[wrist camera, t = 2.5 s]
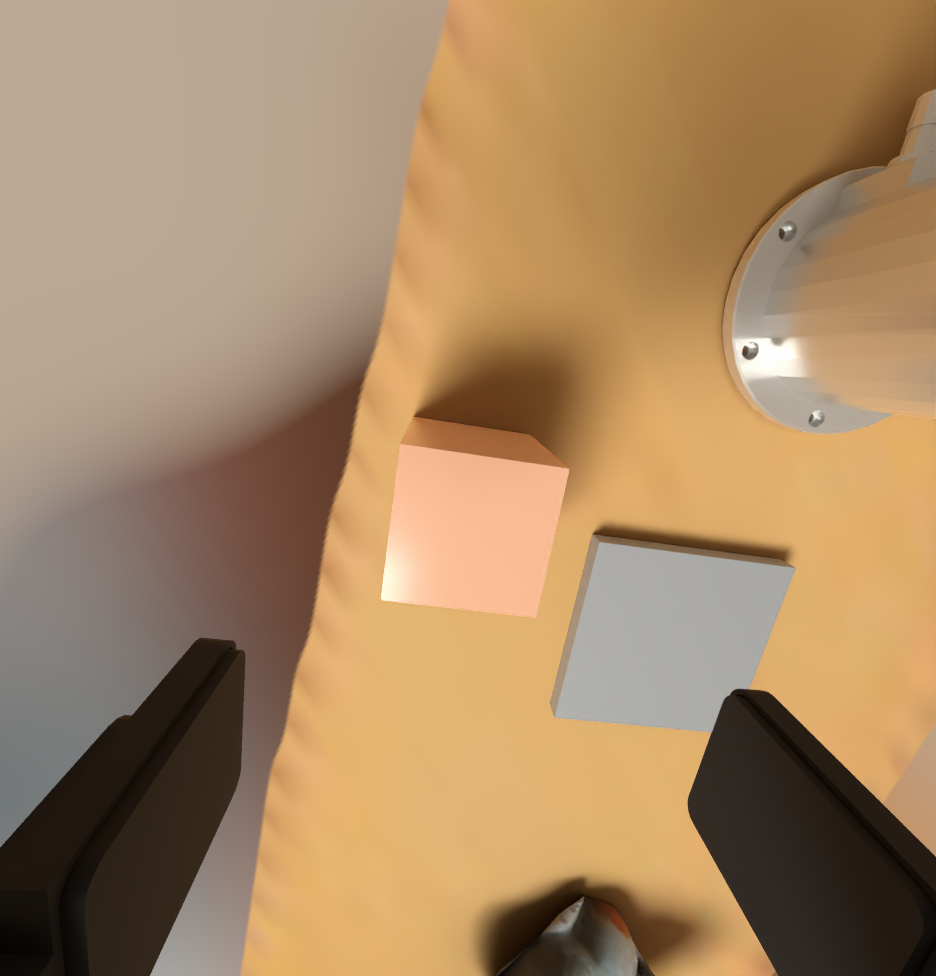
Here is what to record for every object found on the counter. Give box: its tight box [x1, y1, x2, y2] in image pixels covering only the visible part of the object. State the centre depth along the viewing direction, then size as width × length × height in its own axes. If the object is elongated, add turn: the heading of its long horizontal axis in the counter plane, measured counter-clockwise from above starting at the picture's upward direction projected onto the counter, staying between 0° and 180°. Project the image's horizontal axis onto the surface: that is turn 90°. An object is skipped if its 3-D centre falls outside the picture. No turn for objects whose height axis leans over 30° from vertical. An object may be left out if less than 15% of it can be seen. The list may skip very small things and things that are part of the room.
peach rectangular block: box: [381, 417, 570, 618], centre depth 22 cm, size 6×6×8 cm
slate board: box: [550, 534, 795, 732], centre depth 28 cm, size 12×12×1 cm
